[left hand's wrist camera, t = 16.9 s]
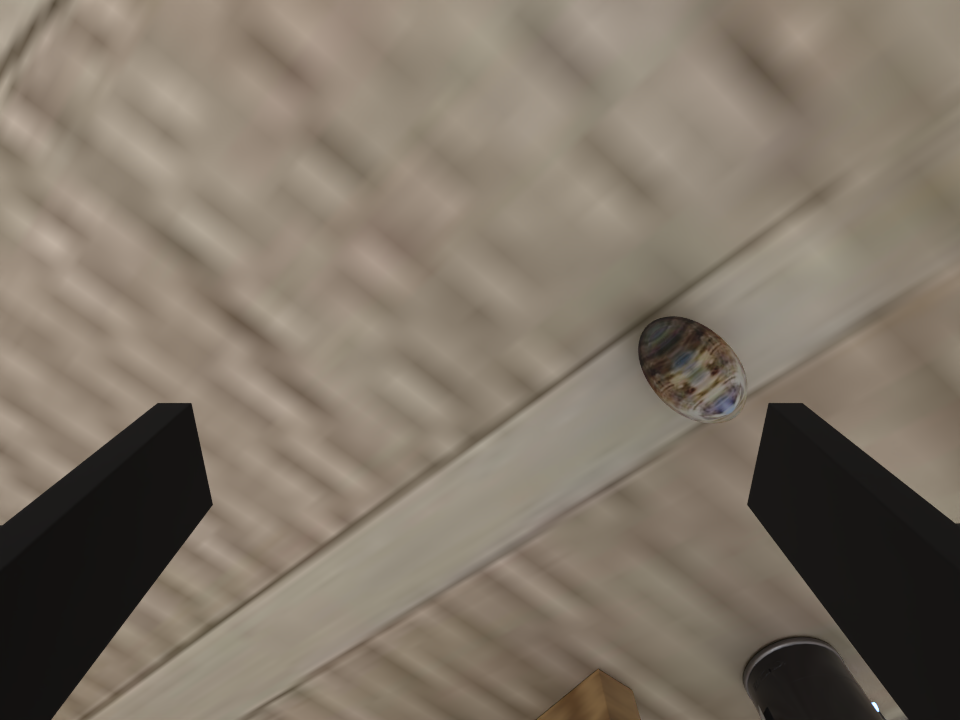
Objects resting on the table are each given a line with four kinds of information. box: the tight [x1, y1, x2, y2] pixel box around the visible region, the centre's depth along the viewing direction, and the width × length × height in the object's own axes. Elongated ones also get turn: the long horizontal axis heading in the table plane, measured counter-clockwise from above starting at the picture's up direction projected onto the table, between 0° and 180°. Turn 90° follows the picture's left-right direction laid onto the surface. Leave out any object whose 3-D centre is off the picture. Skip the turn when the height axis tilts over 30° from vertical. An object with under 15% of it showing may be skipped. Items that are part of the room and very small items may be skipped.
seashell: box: [638, 317, 747, 423], centre depth 38 cm, size 10×6×8 cm, turn 45°
